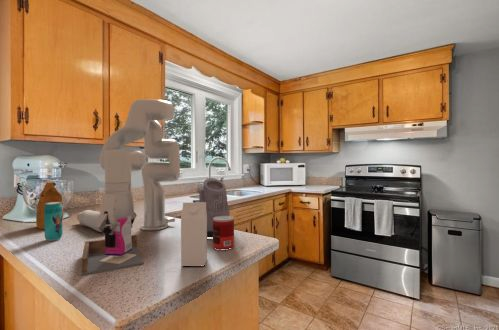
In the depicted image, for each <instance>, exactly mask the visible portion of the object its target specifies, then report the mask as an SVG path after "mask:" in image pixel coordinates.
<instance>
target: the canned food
mask: <svg viewBox="0 0 499 330" xmlns="http://www.w3.org/2000/svg"><path fill="white" fill-rule="evenodd" d="M234 234H235V217H234V216H233V215H232V216H231V215H230V216H217V217H214V218H213V240H212V246H213V249H214V248H216V249H229V248H232V247H233V248H234V247H235V235H234ZM233 248H232V249H233Z"/></svg>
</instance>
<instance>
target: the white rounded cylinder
mask: <svg viewBox="0 0 499 330" xmlns="http://www.w3.org/2000/svg"><path fill="white" fill-rule="evenodd" d="M76 220H77V221H78V222H79V224H80V225H81V226H83V227H88V228H90V229H93V230H95V231H96V232H99V233H102V234H103V232H102V231H101V230H100V229H99V228H98V227H97V224H98V223H99V221H100V211H96V210H95V211H94V210H91V209H87V210H86V209H85V210H83V211H81V212H79V213H77V214H76Z"/></svg>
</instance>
